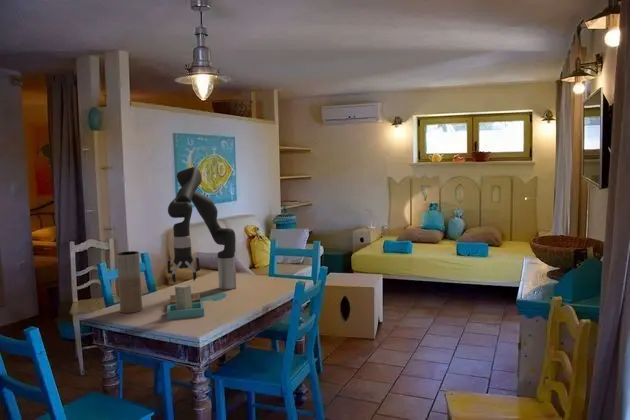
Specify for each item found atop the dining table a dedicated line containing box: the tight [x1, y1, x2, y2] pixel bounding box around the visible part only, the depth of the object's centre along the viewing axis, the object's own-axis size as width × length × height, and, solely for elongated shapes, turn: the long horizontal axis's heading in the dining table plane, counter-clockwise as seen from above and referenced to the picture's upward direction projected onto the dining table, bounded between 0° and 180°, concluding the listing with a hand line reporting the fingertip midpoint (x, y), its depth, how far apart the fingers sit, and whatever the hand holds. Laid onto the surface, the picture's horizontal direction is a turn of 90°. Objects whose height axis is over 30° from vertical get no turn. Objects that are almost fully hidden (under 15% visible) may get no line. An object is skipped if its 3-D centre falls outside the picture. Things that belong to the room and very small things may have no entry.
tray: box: [166, 301, 205, 320], centre depth 234 cm, size 16×12×4 cm
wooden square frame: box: [169, 292, 201, 305], centre depth 249 cm, size 14×14×4 cm
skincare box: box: [174, 284, 192, 310], centre depth 234 cm, size 6×4×12 cm
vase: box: [116, 250, 143, 314], centre depth 242 cm, size 10×10×28 cm
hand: (184, 281), depth 233 cm, fingers open, 8 cm apart
